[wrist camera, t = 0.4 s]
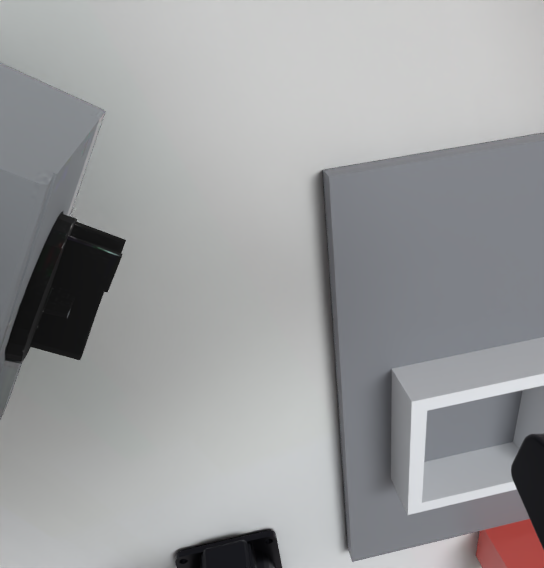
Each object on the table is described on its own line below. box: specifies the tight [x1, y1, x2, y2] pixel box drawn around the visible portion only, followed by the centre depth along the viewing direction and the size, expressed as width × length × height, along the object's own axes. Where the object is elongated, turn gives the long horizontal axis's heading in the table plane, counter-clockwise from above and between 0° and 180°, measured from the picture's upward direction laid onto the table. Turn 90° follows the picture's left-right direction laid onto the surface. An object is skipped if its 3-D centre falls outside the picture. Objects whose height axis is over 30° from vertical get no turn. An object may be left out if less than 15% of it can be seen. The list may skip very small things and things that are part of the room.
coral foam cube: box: [476, 519, 544, 568], centre depth 34 cm, size 4×4×5 cm
